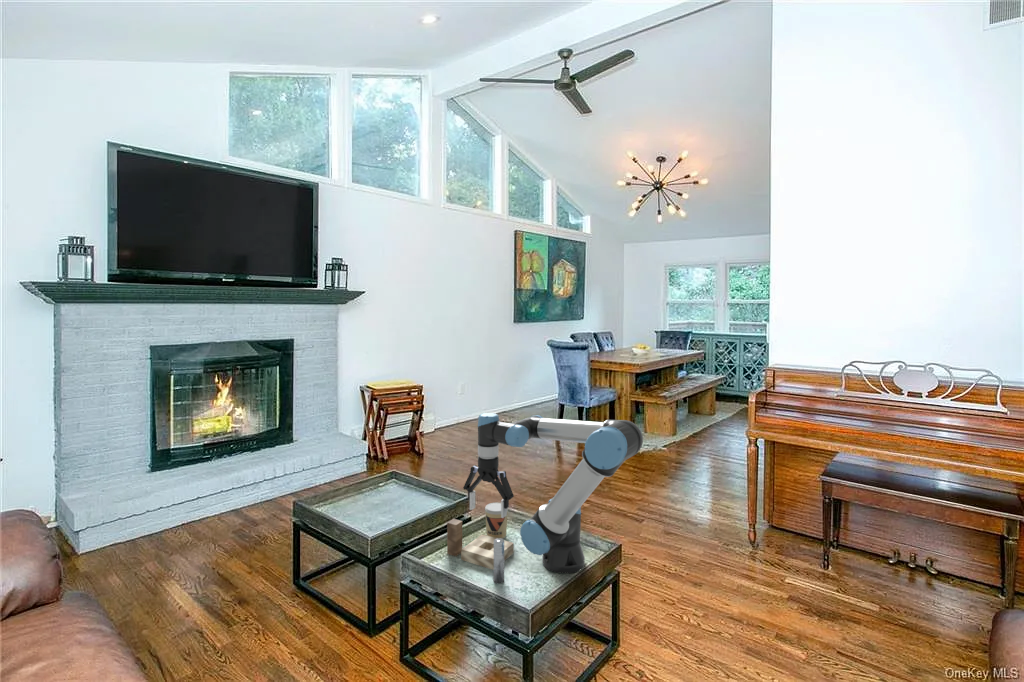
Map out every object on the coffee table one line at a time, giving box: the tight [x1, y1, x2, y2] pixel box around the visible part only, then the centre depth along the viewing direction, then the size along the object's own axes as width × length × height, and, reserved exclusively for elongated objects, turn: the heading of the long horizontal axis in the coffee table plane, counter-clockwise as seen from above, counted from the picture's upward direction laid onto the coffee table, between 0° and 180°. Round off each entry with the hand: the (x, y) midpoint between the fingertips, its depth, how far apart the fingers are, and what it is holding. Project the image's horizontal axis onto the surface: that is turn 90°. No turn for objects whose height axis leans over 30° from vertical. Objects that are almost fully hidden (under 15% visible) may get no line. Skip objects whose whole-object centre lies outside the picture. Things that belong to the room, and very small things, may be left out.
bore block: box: [460, 534, 515, 571], centre depth 194 cm, size 14×14×4 cm
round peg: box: [492, 538, 505, 584], centre depth 177 cm, size 4×4×14 cm
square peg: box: [446, 518, 463, 557], centre depth 196 cm, size 4×4×12 cm
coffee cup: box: [484, 501, 509, 540], centre depth 210 cm, size 9×9×12 cm
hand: (487, 512), depth 192 cm, fingers open, 13 cm apart
